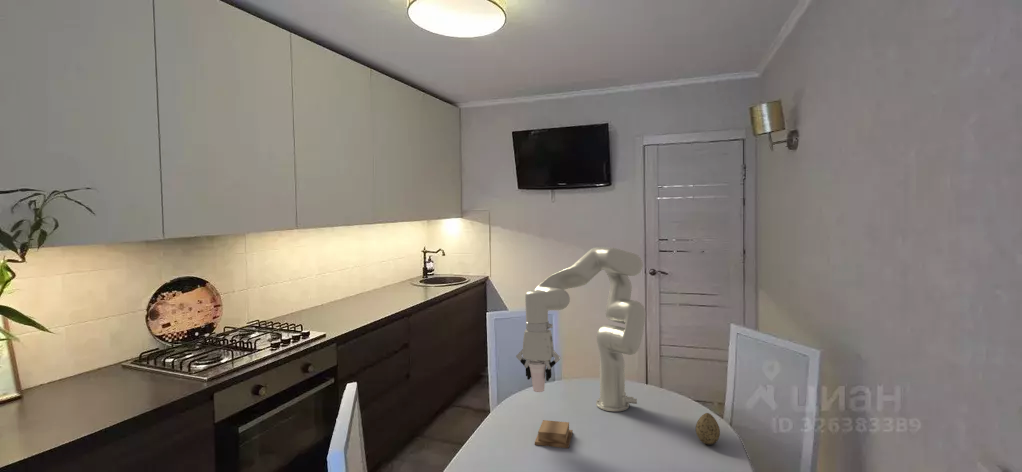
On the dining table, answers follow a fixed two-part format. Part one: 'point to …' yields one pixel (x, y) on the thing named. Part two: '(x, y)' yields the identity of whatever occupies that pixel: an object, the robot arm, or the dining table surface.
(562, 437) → the pedestal
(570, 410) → the dining table surface
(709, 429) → the decorative egg
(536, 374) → the smoothie
